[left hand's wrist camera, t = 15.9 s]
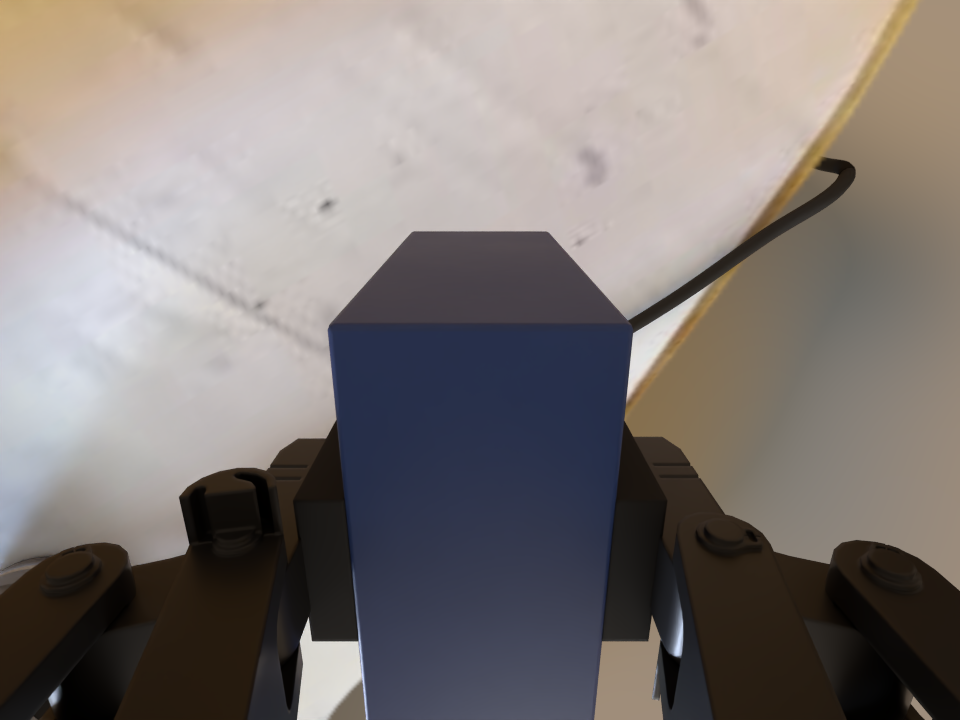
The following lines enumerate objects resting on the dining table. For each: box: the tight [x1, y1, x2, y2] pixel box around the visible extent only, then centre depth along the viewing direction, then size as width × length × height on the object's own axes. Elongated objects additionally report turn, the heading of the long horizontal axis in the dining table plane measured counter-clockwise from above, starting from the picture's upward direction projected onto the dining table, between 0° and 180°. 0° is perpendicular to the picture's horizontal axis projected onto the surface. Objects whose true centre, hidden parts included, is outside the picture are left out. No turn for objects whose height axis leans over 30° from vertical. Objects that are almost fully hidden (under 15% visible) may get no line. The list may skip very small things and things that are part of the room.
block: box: [328, 231, 633, 720], centre depth 13 cm, size 4×8×10 cm, turn 0°
